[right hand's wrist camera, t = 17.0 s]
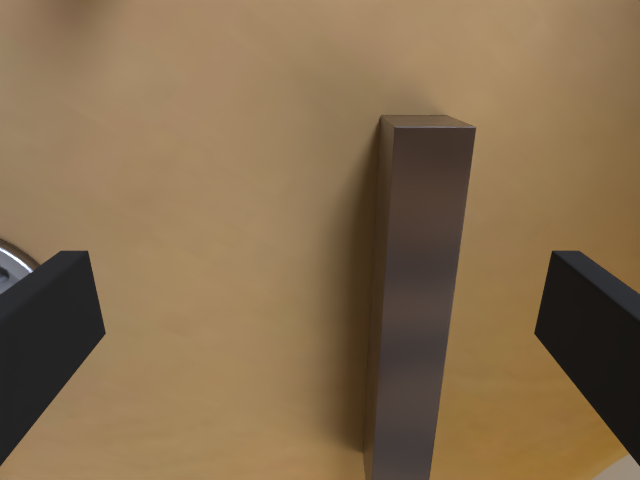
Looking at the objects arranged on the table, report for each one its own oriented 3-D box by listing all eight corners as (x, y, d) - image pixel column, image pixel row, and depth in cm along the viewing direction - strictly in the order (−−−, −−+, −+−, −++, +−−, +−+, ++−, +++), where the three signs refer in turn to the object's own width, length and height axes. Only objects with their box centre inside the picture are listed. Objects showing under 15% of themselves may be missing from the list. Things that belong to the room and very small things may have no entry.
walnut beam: (410, 454, 45) (424, 513, 39) (362, 453, 45) (369, 513, 39) (447, 115, 33) (476, 126, 27) (380, 115, 33) (394, 126, 27)
